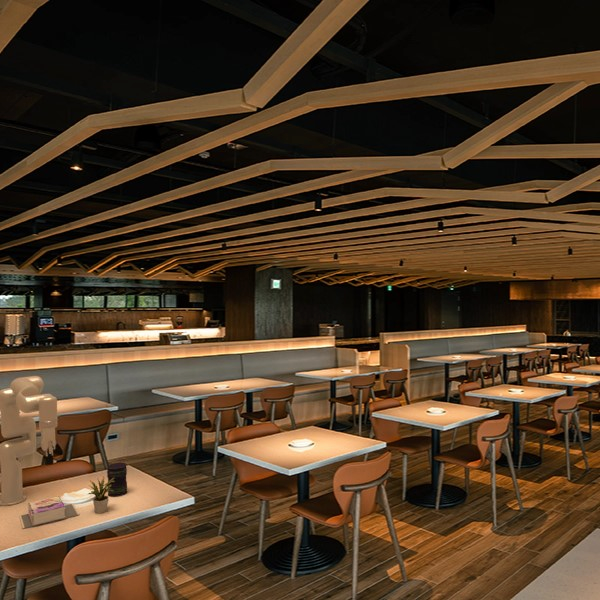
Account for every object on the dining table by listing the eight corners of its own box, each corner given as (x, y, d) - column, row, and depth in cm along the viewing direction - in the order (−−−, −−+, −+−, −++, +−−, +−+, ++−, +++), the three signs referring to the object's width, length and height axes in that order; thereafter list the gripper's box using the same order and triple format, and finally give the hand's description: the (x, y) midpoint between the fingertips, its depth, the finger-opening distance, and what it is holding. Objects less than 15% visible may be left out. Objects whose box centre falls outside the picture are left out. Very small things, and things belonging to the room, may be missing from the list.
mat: (19, 516, 241) (19, 515, 241) (73, 504, 254) (73, 503, 254) (22, 529, 227) (22, 528, 227) (79, 515, 240) (79, 514, 240)
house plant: (120, 513, 241) (119, 479, 241) (89, 520, 234) (88, 485, 234) (115, 503, 253) (114, 471, 254) (85, 509, 247) (84, 476, 247)
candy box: (32, 513, 228) (27, 502, 242) (32, 526, 228) (27, 514, 242) (65, 505, 236) (58, 495, 250) (65, 518, 236) (59, 507, 250)
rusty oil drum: (130, 490, 272) (129, 462, 272) (122, 497, 262) (121, 468, 262) (112, 490, 272) (112, 462, 273) (104, 497, 263) (103, 468, 263)
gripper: (37, 422, 233) (38, 461, 233) (41, 428, 220) (42, 470, 220) (54, 419, 237) (55, 458, 237) (60, 425, 225) (61, 466, 225)
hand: (49, 464), depth 229 cm, fingers closed
